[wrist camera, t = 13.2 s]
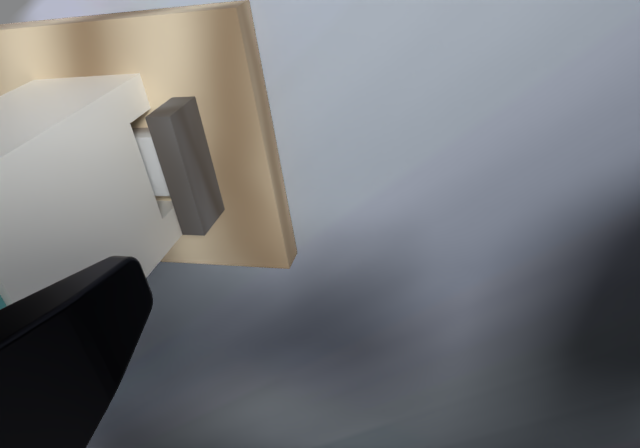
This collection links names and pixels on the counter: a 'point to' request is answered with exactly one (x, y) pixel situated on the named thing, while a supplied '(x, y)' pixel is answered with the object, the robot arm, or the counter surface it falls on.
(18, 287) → the panel
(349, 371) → the counter surface
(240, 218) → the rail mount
